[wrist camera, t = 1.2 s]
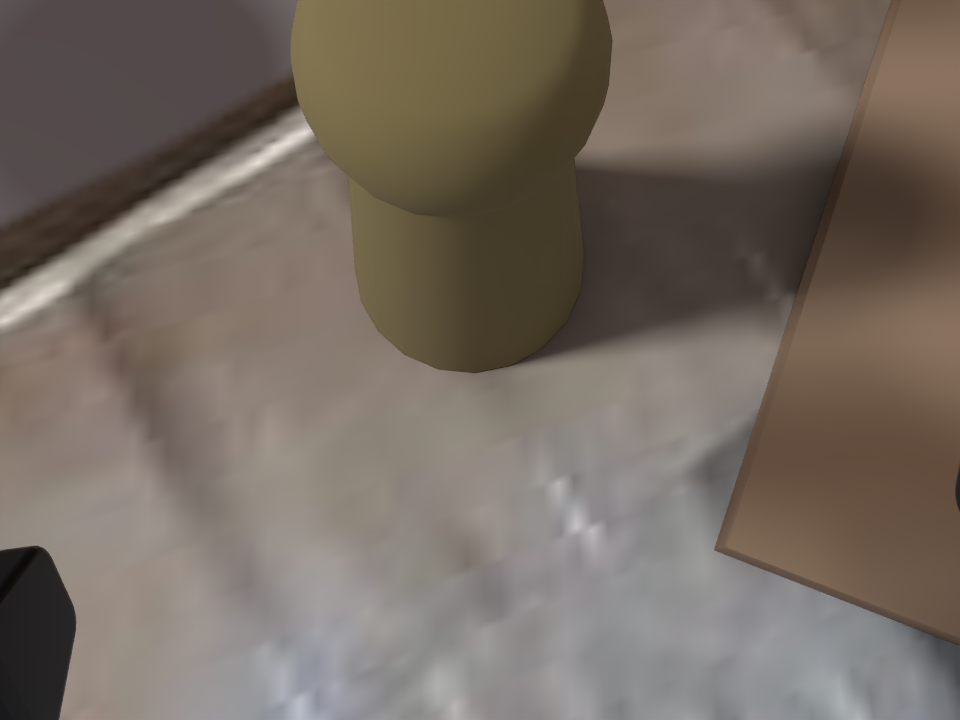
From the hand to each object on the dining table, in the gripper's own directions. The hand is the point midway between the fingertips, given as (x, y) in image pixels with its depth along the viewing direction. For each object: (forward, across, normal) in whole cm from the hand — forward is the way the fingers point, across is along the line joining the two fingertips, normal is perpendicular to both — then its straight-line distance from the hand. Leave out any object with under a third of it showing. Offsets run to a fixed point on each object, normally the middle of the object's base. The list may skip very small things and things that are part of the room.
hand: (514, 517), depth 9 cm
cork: (+15, 0, +4) cm, 16 cm away
